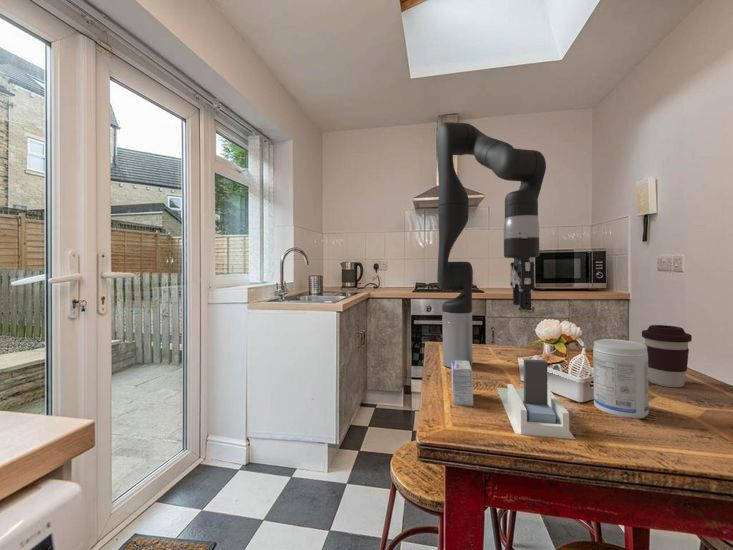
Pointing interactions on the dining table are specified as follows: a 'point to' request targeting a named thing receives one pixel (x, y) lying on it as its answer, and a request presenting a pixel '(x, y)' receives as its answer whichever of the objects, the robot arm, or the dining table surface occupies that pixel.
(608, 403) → the supplement tub
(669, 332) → the coffee cup
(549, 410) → the lane block
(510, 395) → the lane fixture
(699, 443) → the dining table surface
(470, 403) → the medicine box
